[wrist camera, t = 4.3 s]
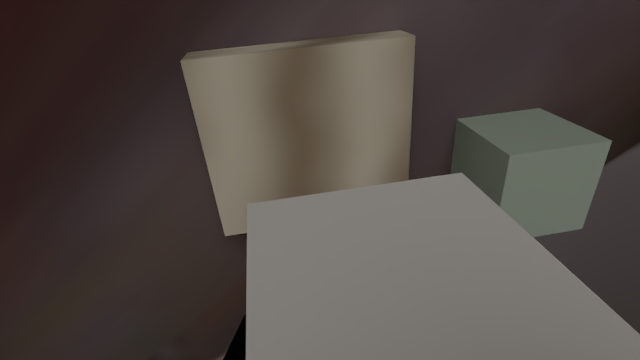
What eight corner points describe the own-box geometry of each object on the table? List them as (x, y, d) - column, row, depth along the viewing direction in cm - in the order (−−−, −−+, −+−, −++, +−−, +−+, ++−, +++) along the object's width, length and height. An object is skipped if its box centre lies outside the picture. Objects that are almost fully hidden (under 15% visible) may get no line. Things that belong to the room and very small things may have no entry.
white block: (461, 172, 9) (675, 367, 4) (441, 318, 11) (565, 537, 7) (247, 203, 8) (245, 464, 4) (276, 350, 10) (294, 610, 6)
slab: (399, 30, 18) (415, 35, 16) (395, 189, 22) (407, 207, 20) (188, 52, 17) (180, 60, 15) (227, 214, 21) (225, 236, 19)
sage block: (538, 107, 21) (611, 140, 17) (521, 182, 24) (582, 228, 19) (456, 118, 21) (510, 155, 16) (447, 194, 23) (492, 244, 19)
